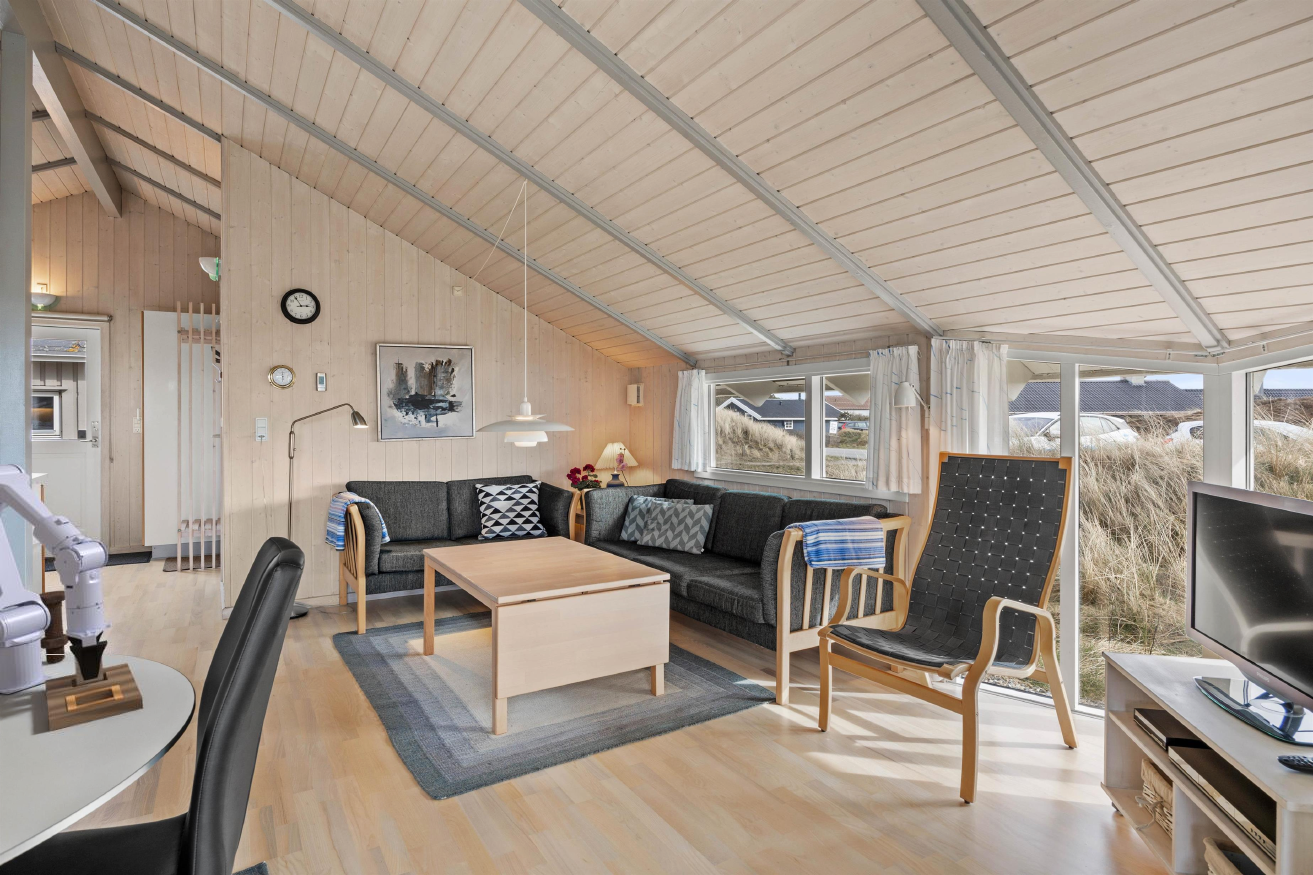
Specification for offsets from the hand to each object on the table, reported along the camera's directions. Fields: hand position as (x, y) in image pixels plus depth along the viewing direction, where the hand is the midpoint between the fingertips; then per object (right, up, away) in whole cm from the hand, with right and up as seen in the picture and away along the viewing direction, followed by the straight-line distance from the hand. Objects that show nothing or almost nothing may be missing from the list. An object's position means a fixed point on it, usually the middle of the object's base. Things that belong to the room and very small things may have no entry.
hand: (89, 673), depth 140 cm
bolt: (-20, -3, +17) cm, 26 cm away
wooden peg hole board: (+4, -3, -4) cm, 7 cm away
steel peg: (0, -3, 0) cm, 3 cm away
